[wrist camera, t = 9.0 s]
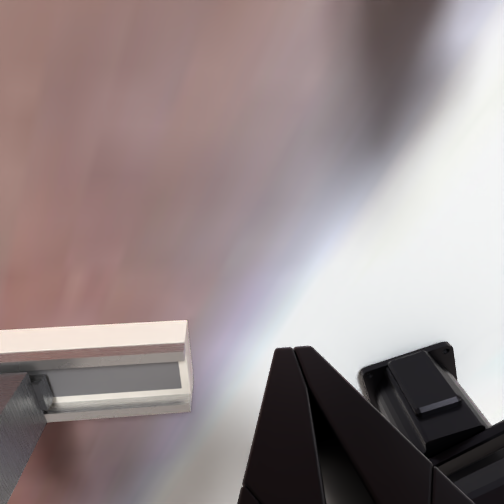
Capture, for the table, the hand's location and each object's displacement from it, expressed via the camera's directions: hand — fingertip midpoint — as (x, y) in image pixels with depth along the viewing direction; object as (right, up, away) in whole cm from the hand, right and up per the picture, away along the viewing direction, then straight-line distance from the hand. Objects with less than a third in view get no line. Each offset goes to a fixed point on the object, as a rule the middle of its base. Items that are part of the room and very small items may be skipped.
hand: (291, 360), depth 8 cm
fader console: (-12, -4, +15) cm, 19 cm away
